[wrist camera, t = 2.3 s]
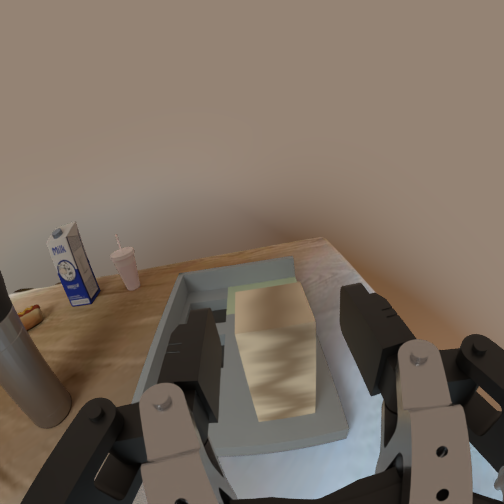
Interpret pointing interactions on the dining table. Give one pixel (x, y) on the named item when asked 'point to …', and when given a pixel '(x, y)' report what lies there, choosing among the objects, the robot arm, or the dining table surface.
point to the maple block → (277, 350)
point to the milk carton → (73, 265)
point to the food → (31, 316)
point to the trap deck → (232, 372)
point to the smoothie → (126, 266)
